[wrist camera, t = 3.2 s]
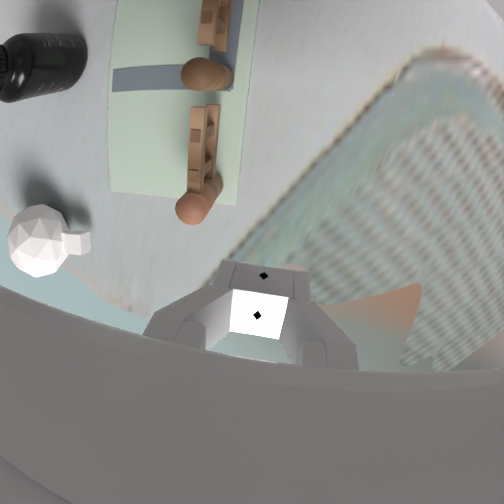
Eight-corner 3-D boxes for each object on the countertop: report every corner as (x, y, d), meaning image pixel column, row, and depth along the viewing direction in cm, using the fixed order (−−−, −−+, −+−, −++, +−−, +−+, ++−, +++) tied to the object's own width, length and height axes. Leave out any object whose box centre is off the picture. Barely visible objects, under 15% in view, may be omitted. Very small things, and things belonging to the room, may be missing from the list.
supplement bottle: (44, 51, 20) (-36, 59, 10) (86, 25, 19) (1, 18, 9) (50, 100, 24) (-30, 123, 13) (93, 78, 22) (5, 90, 12)
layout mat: (123, -21, 16) (121, -22, 16) (264, -33, 16) (264, -35, 15) (112, 190, 29) (110, 191, 29) (236, 204, 28) (236, 206, 28)
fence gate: (203, 103, 23) (178, 107, 17) (230, 104, 23) (212, 108, 17) (198, 195, 27) (175, 222, 22) (222, 198, 27) (205, 227, 22)
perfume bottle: (37, 261, 34) (103, 268, 34) (-2, 281, 25) (68, 293, 26) (33, 202, 32) (101, 201, 32) (-9, 210, 23) (61, 209, 23)
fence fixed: (233, 91, 23) (214, 91, 17) (207, 90, 23) (179, 90, 17) (248, -28, 16) (235, -60, 10) (222, -28, 16) (201, -59, 10)
